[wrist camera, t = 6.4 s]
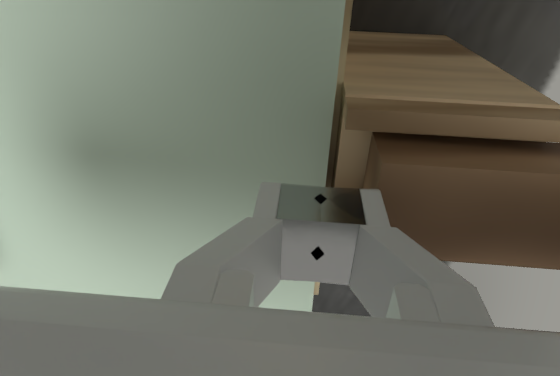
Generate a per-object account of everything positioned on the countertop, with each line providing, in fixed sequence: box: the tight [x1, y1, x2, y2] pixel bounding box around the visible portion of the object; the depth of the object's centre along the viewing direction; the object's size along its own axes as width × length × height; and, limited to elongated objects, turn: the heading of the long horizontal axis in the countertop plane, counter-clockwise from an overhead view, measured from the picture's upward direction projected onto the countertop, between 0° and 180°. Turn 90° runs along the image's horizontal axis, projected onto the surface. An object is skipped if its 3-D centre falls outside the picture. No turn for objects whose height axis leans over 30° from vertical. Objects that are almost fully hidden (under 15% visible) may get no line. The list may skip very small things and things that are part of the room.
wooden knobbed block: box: [363, 132, 560, 270], centre depth 10 cm, size 3×8×3 cm, turn 88°
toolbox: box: [314, 0, 560, 295], centre depth 17 cm, size 14×28×12 cm, turn 88°
